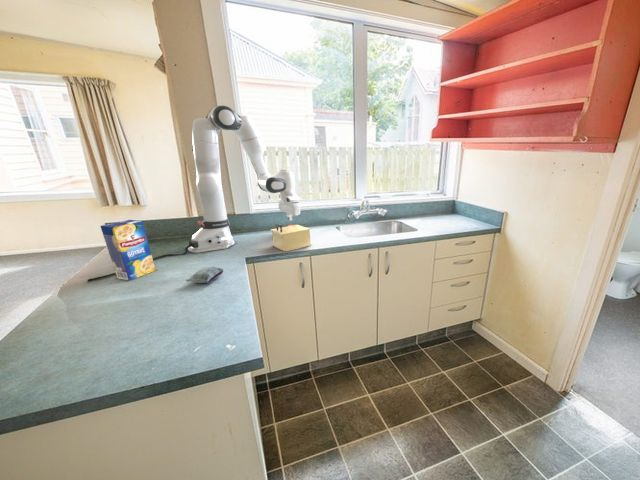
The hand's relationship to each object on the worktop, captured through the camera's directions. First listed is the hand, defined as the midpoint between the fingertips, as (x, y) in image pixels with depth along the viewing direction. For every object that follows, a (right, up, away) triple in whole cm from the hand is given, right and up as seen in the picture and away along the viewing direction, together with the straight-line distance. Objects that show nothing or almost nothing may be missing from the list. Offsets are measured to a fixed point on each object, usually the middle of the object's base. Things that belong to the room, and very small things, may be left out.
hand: (289, 220), depth 183 cm
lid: (+7, -8, -23) cm, 25 cm away
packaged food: (-14, -32, -63) cm, 72 cm away
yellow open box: (+8, -17, -19) cm, 27 cm away
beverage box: (-46, -30, -59) cm, 80 cm away
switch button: (0, -5, +2) cm, 5 cm away
